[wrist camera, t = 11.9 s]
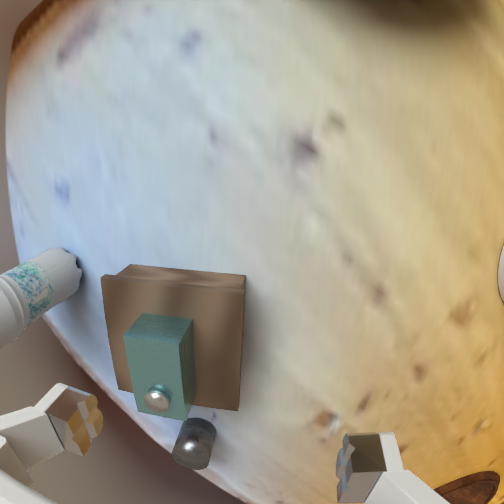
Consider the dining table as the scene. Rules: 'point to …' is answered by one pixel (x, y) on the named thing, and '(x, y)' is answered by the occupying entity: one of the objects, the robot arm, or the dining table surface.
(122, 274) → the stand
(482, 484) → the cutting board
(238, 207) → the dining table surface
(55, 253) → the bottle
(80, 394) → the robot arm
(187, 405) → the block
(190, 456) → the tin
